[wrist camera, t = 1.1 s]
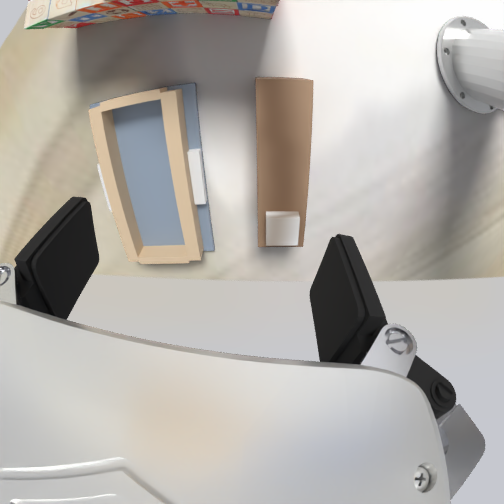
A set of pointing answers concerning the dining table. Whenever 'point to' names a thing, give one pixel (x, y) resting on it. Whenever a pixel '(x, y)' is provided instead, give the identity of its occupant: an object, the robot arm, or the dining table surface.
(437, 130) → the dining table surface
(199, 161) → the cradle
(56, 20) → the stack of blocks
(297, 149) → the long brown block
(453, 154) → the dining table surface
